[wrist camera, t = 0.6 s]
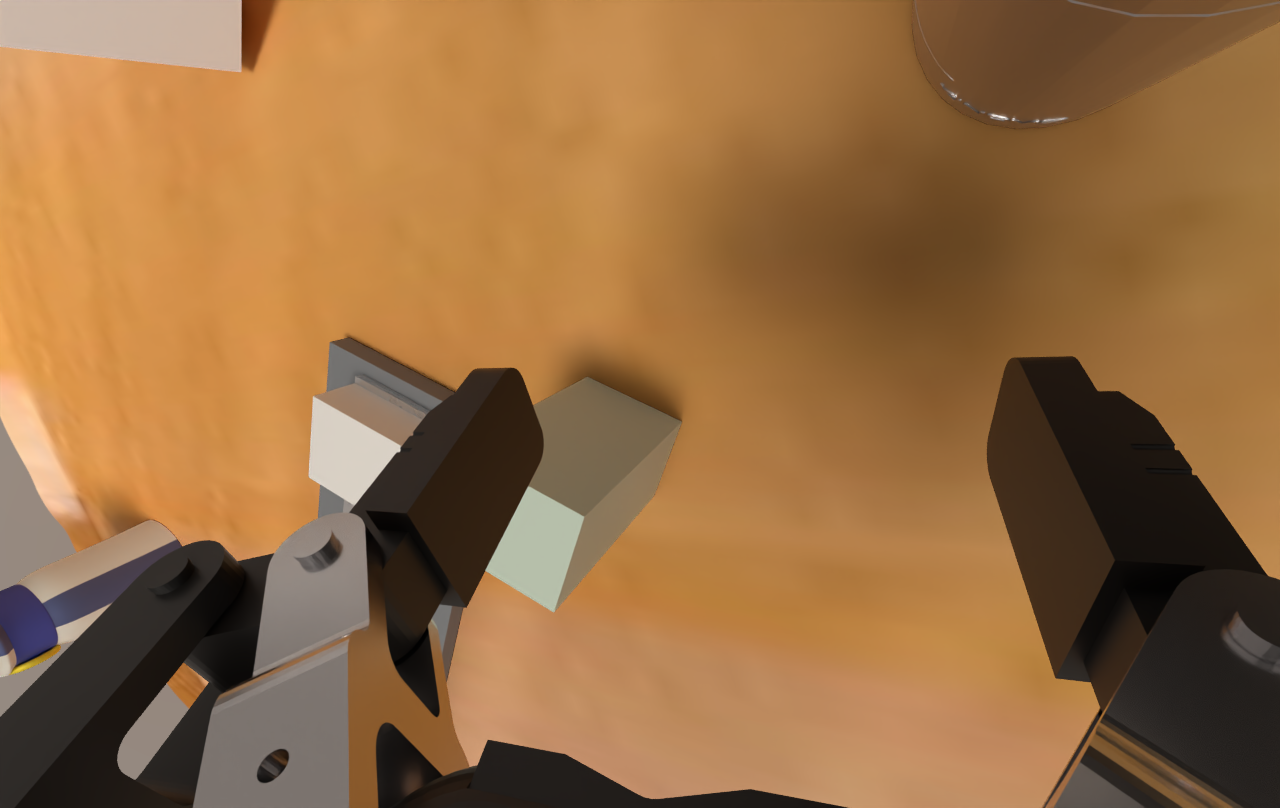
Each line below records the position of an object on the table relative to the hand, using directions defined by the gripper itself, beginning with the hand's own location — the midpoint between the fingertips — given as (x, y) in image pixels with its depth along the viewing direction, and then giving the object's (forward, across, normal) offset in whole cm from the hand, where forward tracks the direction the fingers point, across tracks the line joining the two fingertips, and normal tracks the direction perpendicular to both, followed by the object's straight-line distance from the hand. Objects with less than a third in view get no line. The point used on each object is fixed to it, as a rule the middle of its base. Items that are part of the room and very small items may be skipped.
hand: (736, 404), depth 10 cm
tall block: (+15, +9, +14) cm, 23 cm away
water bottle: (+16, +62, +32) cm, 71 cm away
